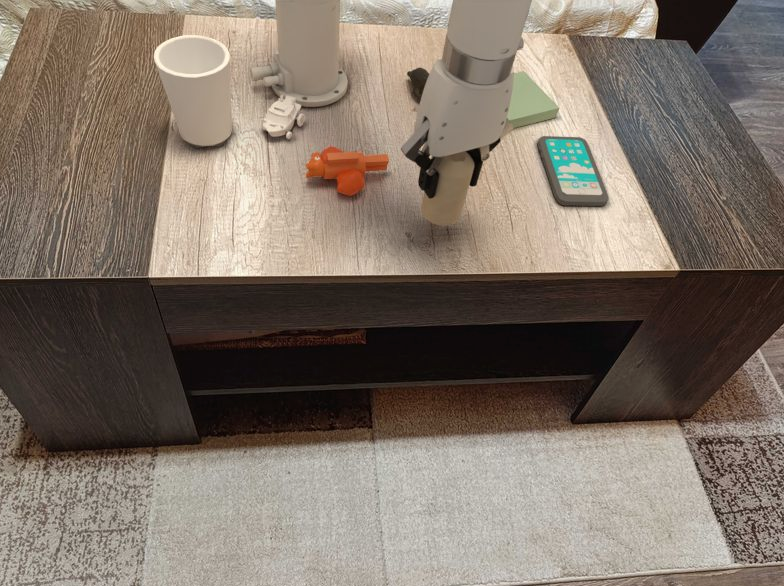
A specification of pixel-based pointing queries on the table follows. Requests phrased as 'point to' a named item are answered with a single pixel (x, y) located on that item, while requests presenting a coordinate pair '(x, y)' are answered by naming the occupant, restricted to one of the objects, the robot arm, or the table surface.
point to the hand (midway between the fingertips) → (447, 184)
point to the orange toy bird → (345, 167)
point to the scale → (529, 102)
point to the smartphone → (572, 171)
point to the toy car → (282, 117)
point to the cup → (197, 87)
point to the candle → (449, 189)
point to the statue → (418, 81)
